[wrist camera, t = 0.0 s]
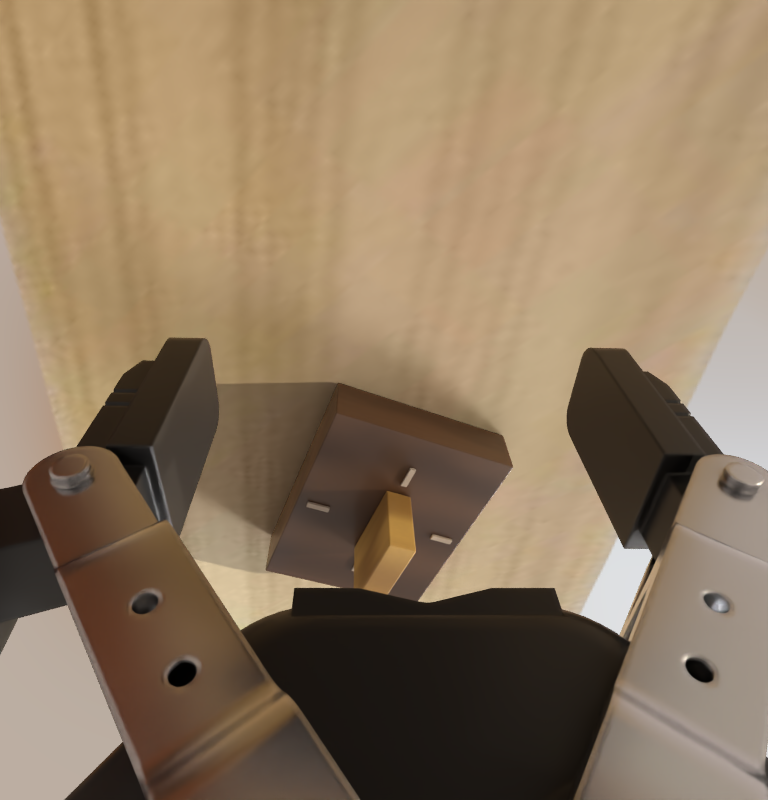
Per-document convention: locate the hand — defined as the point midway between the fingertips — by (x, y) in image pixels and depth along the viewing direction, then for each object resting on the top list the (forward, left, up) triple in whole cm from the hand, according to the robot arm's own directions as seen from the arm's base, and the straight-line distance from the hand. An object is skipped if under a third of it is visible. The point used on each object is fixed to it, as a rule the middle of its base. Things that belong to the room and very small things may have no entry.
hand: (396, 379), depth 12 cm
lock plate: (+20, +1, -17) cm, 26 cm away
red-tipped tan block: (+20, +1, -14) cm, 24 cm away
